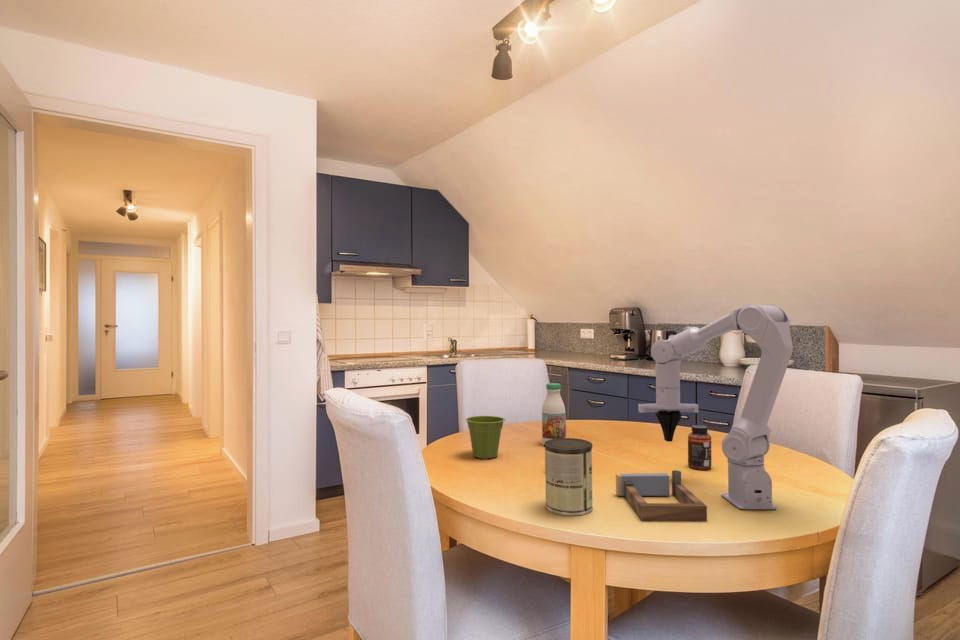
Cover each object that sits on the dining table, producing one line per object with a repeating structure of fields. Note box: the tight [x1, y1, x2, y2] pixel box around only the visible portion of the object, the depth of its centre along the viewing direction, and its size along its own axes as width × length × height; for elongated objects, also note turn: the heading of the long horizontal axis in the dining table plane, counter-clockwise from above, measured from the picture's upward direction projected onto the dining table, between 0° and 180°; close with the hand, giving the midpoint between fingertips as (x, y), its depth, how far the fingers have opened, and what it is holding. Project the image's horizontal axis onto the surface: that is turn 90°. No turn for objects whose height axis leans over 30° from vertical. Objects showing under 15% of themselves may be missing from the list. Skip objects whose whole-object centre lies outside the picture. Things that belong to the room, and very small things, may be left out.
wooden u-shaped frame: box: [624, 469, 708, 522], centre depth 116 cm, size 17×13×6 cm
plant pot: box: [465, 415, 506, 460], centre depth 160 cm, size 12×12×11 cm
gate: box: [615, 472, 671, 497], centre depth 123 cm, size 12×2×4 cm, turn 89°
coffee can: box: [544, 437, 594, 517], centre depth 116 cm, size 10×10×14 cm
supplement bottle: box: [687, 424, 712, 471], centre depth 146 cm, size 6×6×11 cm
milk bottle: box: [541, 382, 567, 446], centre depth 173 cm, size 8×8×20 cm
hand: (668, 440), depth 135 cm, fingers closed
